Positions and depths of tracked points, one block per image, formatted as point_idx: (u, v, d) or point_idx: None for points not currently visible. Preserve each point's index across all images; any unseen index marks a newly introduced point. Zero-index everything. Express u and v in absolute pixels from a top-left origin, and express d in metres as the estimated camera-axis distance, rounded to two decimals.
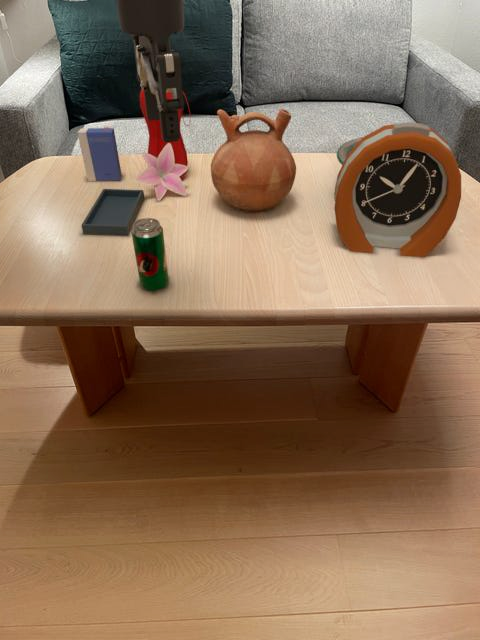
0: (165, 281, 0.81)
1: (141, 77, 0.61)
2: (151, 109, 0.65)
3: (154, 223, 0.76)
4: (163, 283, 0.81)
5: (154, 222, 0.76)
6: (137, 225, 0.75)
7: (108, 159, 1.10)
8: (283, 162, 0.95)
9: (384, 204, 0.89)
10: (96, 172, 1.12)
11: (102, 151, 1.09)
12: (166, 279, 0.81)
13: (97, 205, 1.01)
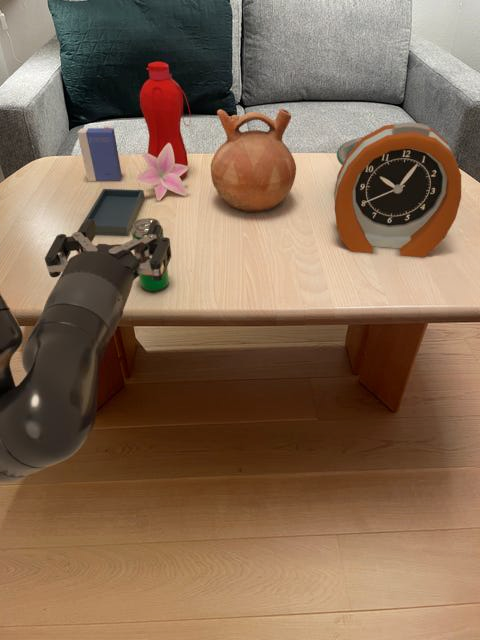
0: (165, 281, 0.81)
1: None
2: None
3: None
4: (163, 283, 0.81)
5: None
6: (137, 225, 0.75)
7: (108, 159, 1.10)
8: (283, 162, 0.95)
9: (384, 204, 0.89)
10: (96, 172, 1.12)
11: (102, 151, 1.09)
12: (166, 279, 0.81)
13: (97, 205, 1.01)
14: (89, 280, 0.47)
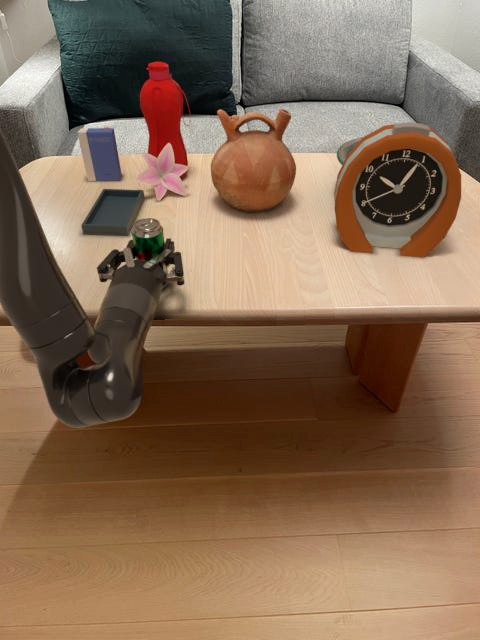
0: None
1: None
2: None
3: (154, 223, 0.76)
4: None
5: (154, 222, 0.76)
6: (137, 225, 0.75)
7: (108, 159, 1.10)
8: (283, 162, 0.95)
9: (384, 204, 0.89)
10: (96, 172, 1.12)
11: (102, 151, 1.09)
12: None
13: (97, 205, 1.01)
14: (132, 289, 0.65)
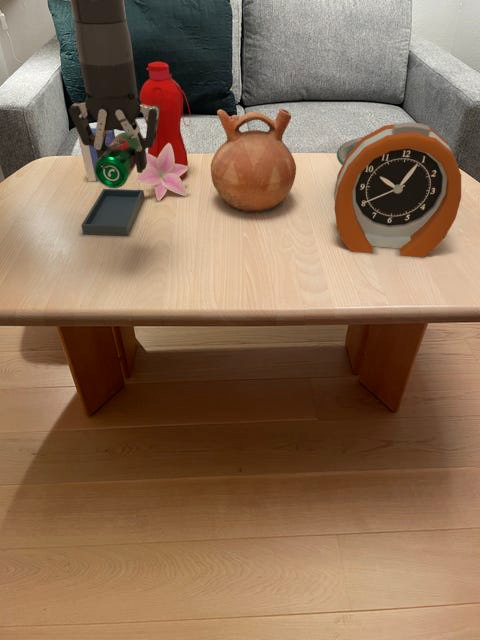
0: (125, 163, 0.71)
1: None
2: None
3: None
4: (123, 161, 0.71)
5: None
6: None
7: None
8: (283, 162, 0.95)
9: (384, 204, 0.89)
10: None
11: None
12: (127, 165, 0.72)
13: (97, 205, 1.01)
14: None
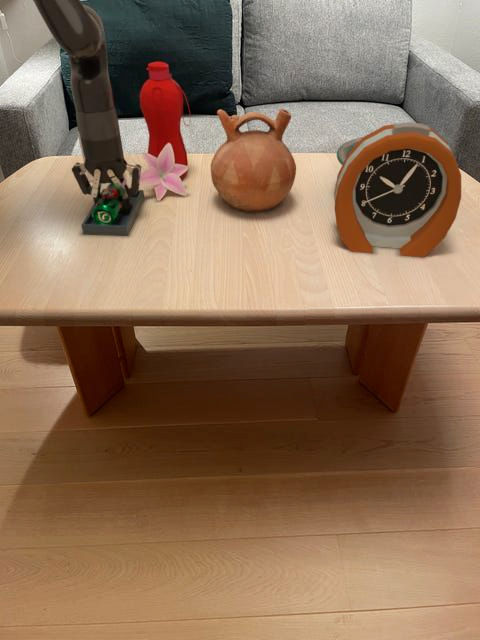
0: (115, 209, 0.94)
1: (120, 181, 0.97)
2: None
3: None
4: (113, 208, 0.94)
5: None
6: None
7: None
8: (283, 162, 0.95)
9: (384, 204, 0.89)
10: None
11: None
12: (116, 211, 0.94)
13: None
14: None
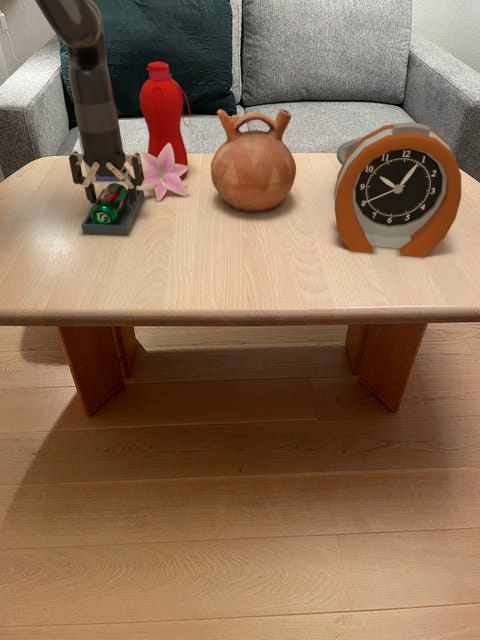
0: (114, 210, 0.94)
1: (123, 173, 0.96)
2: None
3: None
4: (112, 209, 0.94)
5: None
6: None
7: None
8: (283, 162, 0.95)
9: (384, 204, 0.89)
10: None
11: None
12: (116, 211, 0.94)
13: None
14: None
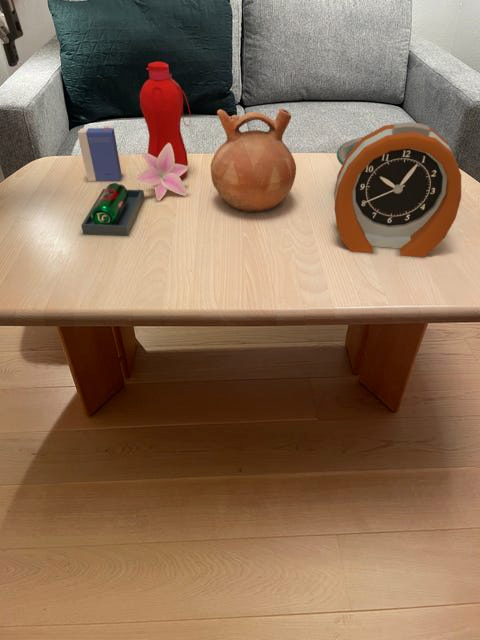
0: (114, 210, 0.94)
1: None
2: None
3: None
4: (112, 209, 0.94)
5: None
6: None
7: (108, 159, 1.10)
8: (283, 162, 0.95)
9: (384, 204, 0.89)
10: (96, 172, 1.12)
11: (102, 151, 1.09)
12: (116, 211, 0.94)
13: None
14: None
